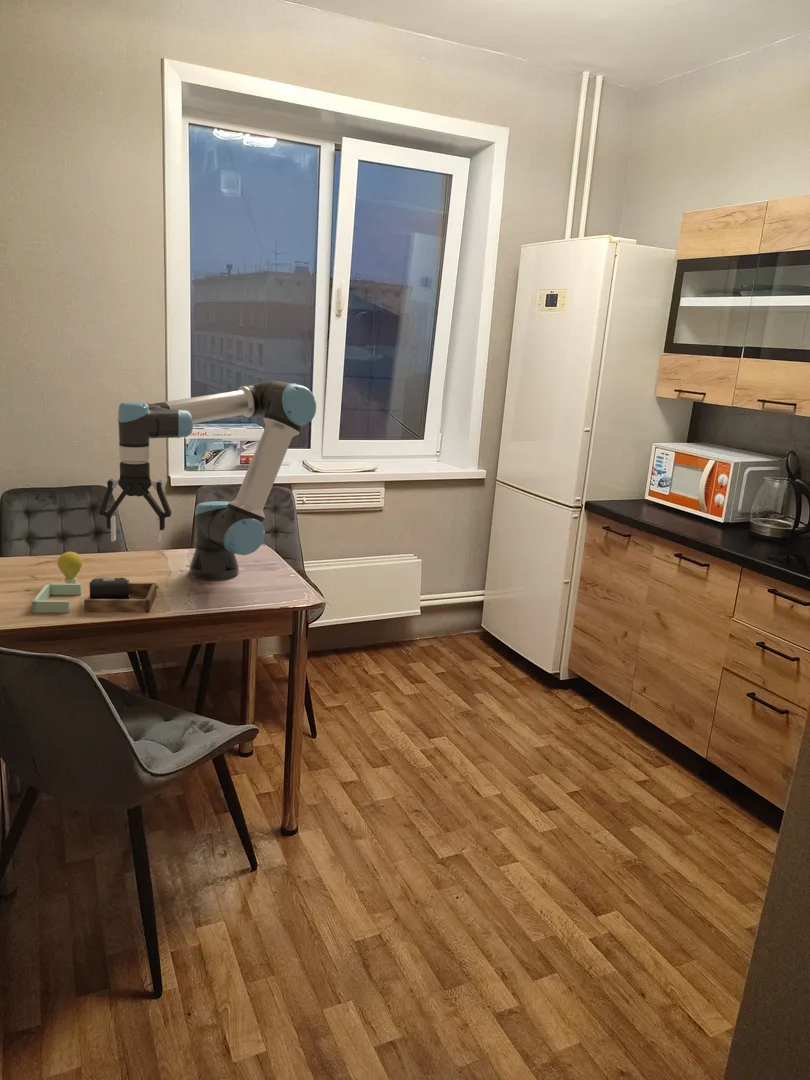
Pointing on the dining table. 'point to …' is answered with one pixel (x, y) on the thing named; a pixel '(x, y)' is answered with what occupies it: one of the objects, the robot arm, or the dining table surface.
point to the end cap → (109, 589)
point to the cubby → (125, 601)
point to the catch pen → (46, 605)
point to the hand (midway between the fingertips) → (136, 540)
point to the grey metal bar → (106, 578)
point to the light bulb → (70, 566)
